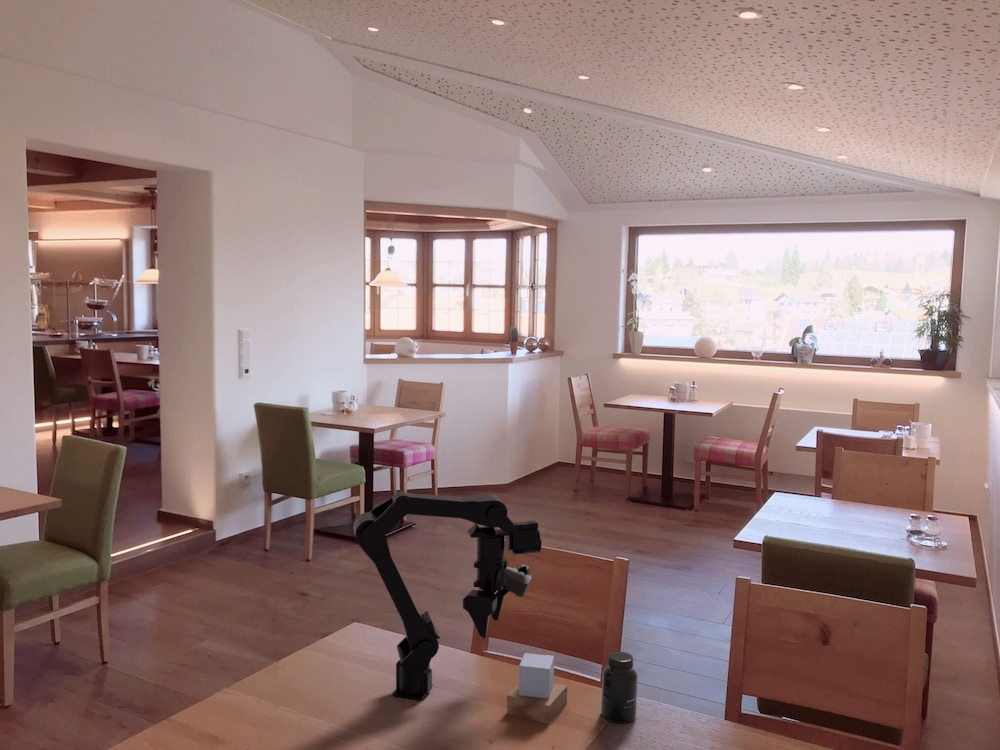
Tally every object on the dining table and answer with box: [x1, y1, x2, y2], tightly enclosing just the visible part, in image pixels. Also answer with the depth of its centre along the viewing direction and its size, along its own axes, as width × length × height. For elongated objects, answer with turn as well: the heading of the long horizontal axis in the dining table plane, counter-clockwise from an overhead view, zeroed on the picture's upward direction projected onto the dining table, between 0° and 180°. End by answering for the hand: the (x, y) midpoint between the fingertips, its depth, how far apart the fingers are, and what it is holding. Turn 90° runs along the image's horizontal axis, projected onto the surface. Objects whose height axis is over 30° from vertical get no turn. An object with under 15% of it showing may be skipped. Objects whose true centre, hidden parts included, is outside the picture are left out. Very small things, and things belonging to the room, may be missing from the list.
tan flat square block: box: [506, 682, 568, 725], centre depth 159 cm, size 9×9×4 cm
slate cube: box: [518, 652, 555, 699], centre depth 159 cm, size 6×6×6 cm
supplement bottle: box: [600, 651, 639, 724], centre depth 156 cm, size 7×7×12 cm
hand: (489, 628), depth 168 cm, fingers open, 9 cm apart
